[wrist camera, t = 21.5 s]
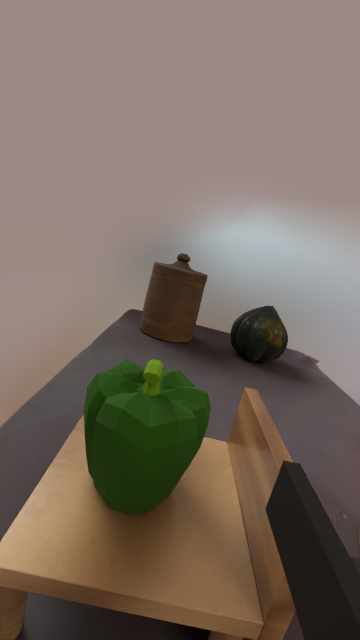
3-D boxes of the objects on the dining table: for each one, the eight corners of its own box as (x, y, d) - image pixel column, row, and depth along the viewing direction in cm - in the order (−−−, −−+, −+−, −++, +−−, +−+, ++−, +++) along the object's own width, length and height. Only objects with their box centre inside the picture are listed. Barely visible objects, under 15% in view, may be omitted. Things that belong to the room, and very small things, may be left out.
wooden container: (193, 333, 86) (212, 260, 81) (189, 347, 72) (211, 260, 67) (146, 320, 87) (162, 248, 82) (132, 332, 73) (150, 246, 68)
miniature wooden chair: (-24, 649, 15) (-6, 461, 12) (76, 462, 29) (96, 352, 26) (252, 706, 16) (330, 535, 13) (222, 494, 29) (257, 389, 26)
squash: (229, 339, 67) (282, 302, 67) (215, 324, 82) (258, 293, 81) (260, 383, 71) (310, 348, 70) (241, 361, 85) (282, 332, 85)
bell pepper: (119, 428, 26) (141, 324, 24) (201, 473, 23) (235, 359, 21) (39, 488, 18) (60, 344, 16) (146, 567, 15) (190, 404, 13)
